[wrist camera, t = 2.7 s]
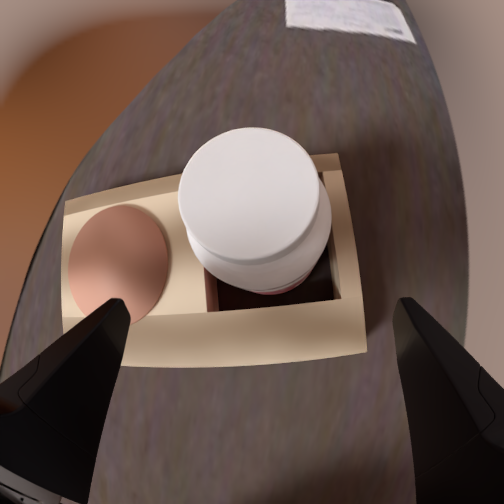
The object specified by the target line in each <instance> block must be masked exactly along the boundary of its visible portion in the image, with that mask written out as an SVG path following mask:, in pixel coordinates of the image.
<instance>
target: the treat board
mask: <svg viewBox="0 0 504 504" xmlns="http://www.w3.org/2000/svg"><path fill="white" fill-rule="evenodd" d="M309 156H310V157H311V159H312V161H313V163H314V165H315V167H316V170H317V173H318V177H319V178H320V180H321V182H322V183H323V185H324V187H325V189H326V191H327V194H328V197H329V201H330V205H331V214H332V221H331V230H330V234H329V238H328V241H327V246H328V253H329V260H330V268H331V276H332V285H333V294H334V300H329V301H320V302H312V303H304V304H295V305H285V306H276V307H266V308H255V309H244V310H232V311H219V303H218V291H217V278H216V277H215V276H214V275H213V274H211V273H210V272H209V271H208V270H207V269H206V268H205V267H204V266H203V265H202V264H201V263H200V261H199V260H198V258H197V257H196V255H195V253H194V251H193V249H192V247H191V245H190V242H189V239H188V236H187V231H186V227H185V225H184V222H183V220H182V217H181V214H180V211H179V204H178V189H179V184H180V179H181V176H182V174H177V175H172V176H167V177H162V178H158V179H153V180H148V181H144V182H139V183H135V184H130V185H126V186H122V187H118V188H113V189H109V190H105V191H102V192H98V193H94V194H90V195H86V196H83V197H79V198H75V199H72V200H68V201H65V211H64V222H63V236H62V260H61V295H62V319H63V333H64V334H65V333H66V332H67V331H69V330H70V329H71V328H72V327H74V326H75V325H76V324H78V323H79V322H80V321H81V320H83V319H84V318H85V317H87V316H88V315H89V314H90V313H92V312H93V311H94V310H96V309H97V308H98V307H100V306H101V305H102V304H104V303H105V302H106V301H107V300H109V299H110V298H121V299H122V300H123V301H124V303H125V305H126V307H127V309H128V311H129V313H130V316H131V322H130V327H129V331H128V336H127V341H126V345H125V350H124V355H123V359H122V363H121V366H138V367H228V366H248V365H263V364H276V363H287V362H297V361H306V360H315V359H323V358H330V357H338V356H345V355H351V354H357V353H364V352H367V343H366V330H365V318H364V308H363V298H362V289H361V281H360V273H359V265H358V258H357V251H356V245H355V238H354V232H353V226H352V220H351V215H350V209H349V204H348V199H347V194H346V189H345V184H344V179H343V174H342V170H341V165H340V161H339V156H338V153H333V154H320V155H309Z"/></svg>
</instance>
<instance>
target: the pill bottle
mask: <svg viewBox="0 0 504 504" xmlns="http://www.w3.org/2000/svg"><path fill="white" fill-rule="evenodd" d="M178 204H179V211H180V214H181V217H182V220H183V222H184V225H185V227H186V231H187V236H188V239H189V242H190V245H191V247H192V249H193V251H194V253H195V255H196V257H197V258H198V260H199V261H200V263H201V264H202V265H203V266H204V267H205V268H206V269H207V270H208V271H209V272H210V273H211V274H213V275H214V276H215V277H217V278H218V279H220V280H222V281H224V282H226V283H228V284H230V285H232V286H235V287H238V288H242V289H245V290H248V291H251V292H255V293H258V294H265V295H275V294H280V293H284V292H287V291H290V290H292V289H294V288H295V287H297V286H298V285H300V284H301V283H302V282H303V281H304V280H305V279H306V278H307V277H308V276H309V274H310V273H311V271H312V269H313V268H314V266H315V265H316V263H317V261H318V259H319V258H320V256H321V254H322V253H323V251H324V248H325V246H326V243H327V241H328V238H329V234H330V230H331V221H332V214H331V205H330V201H329V197H328V194H327V191H326V189H325V187H324V185H323V183H322V182H321V180H320V178H319V177H318V173H317V170H316V167H315V165H314V163H313V161H312V159H311V157H310V156H309V155H308V153H307V152H306V151H305V150H304V149H303V148H302V147H301V146H300V145H299V144H298V143H297V142H296V141H294V140H293V139H291V138H290V137H288V136H286V135H284V134H282V133H280V132H277V131H274V130H270V129H265V128H252V127H251V128H240V129H235V130H231V131H228V132H225V133H223V134H221V135H219V136H216V137H215V138H213V139H211V140H210V141H208V142H207V143H206V144H204V145H203V146H202V147H201V148H200V149H199V150H198V151H197V152H195V154H194V155H193V156H192V158H191V159H190V160H189V162H188V164H187V165H186V167H185V169H184V171H183V174H182V176H181V179H180V184H179V189H178Z"/></svg>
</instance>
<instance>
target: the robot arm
mask: <svg viewBox="0 0 504 504" xmlns="http://www.w3.org/2000/svg"><path fill="white" fill-rule="evenodd" d="M130 322H131V316H130V313H129V311H128V309H127V307H126V305H125V303H124V301H123V300H122V299H121V298H110V299H109V300H107V301H106V302H105V303H104V304H102V305H101V306H100V307H98V308H97V309H96V310H94V311H93V312H92V313H90V314H89V315H88V316H87V317H85V318H84V319H83V320H81V321H80V322H79V323H78V324H76V325H75V326H74V327H72V328H71V329H70V330H69V331H67V332H66V333H65V334H64V335H62V336H61V337H60V338H59V339H57V340H56V341H55V342H54V343H52V344H51V345H50V346H49V347H47V348H46V349H45V350H44V351H43V352H41V353H40V354H39V355H38V356H36V357H35V358H34V359H33V360H32V361H30V362H29V363H28V364H27V365H25V366H24V367H23V368H21V369H20V370H19V371H17V372H16V373H15V374H13V375H12V376H10V377H9V378H8V379H6V380H5V381H4V382H2V383H1V384H0V504H62V503H60V501H61V498H62V497H64V498H67V499H69V500H72V501H74V502H77V503H80V504H87V503H88V498H89V493H90V487H91V482H92V477H93V472H94V467H95V462H96V457H97V452H98V448H99V443H100V439H101V435H102V431H103V427H104V423H105V419H106V415H107V411H108V408H109V404H110V400H111V397H112V393H113V389H114V386H115V383H116V379H117V376H118V372H119V369H120V366H121V363H122V359H123V355H124V350H125V345H126V341H127V336H128V331H129V327H130ZM393 329H394V337H395V345H396V354H397V363H398V369H399V374H400V379H401V384H402V389H403V394H404V400H405V405H406V411H407V417H408V424H409V430H410V437H411V445H412V453H413V462H414V473H415V486H416V503H417V504H504V389H503V388H502V387H501V386H500V385H499V384H498V383H497V382H496V381H495V380H494V379H493V378H492V377H491V376H490V375H489V374H488V373H487V372H486V370H485V369H484V368H483V367H482V366H480V364H479V363H478V362H477V361H476V360H475V359H474V358H473V357H472V356H471V355H470V354H469V353H468V352H467V351H466V350H465V349H464V347H463V346H462V345H461V344H460V343H459V342H458V341H457V340H456V339H455V338H454V337H453V336H452V335H451V334H450V333H449V332H448V331H447V330H446V329H444V328H443V327H442V326H441V325H440V324H439V323H438V322H437V321H436V320H435V319H434V318H433V317H432V316H431V315H430V314H429V313H428V312H427V311H426V310H425V309H424V308H423V307H422V306H420V305H419V304H418V303H417V302H416V301H415V300H414V299H413V298H411V297H403V298H399V300H398V302H397V305H396V308H395V311H394V314H393Z"/></svg>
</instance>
